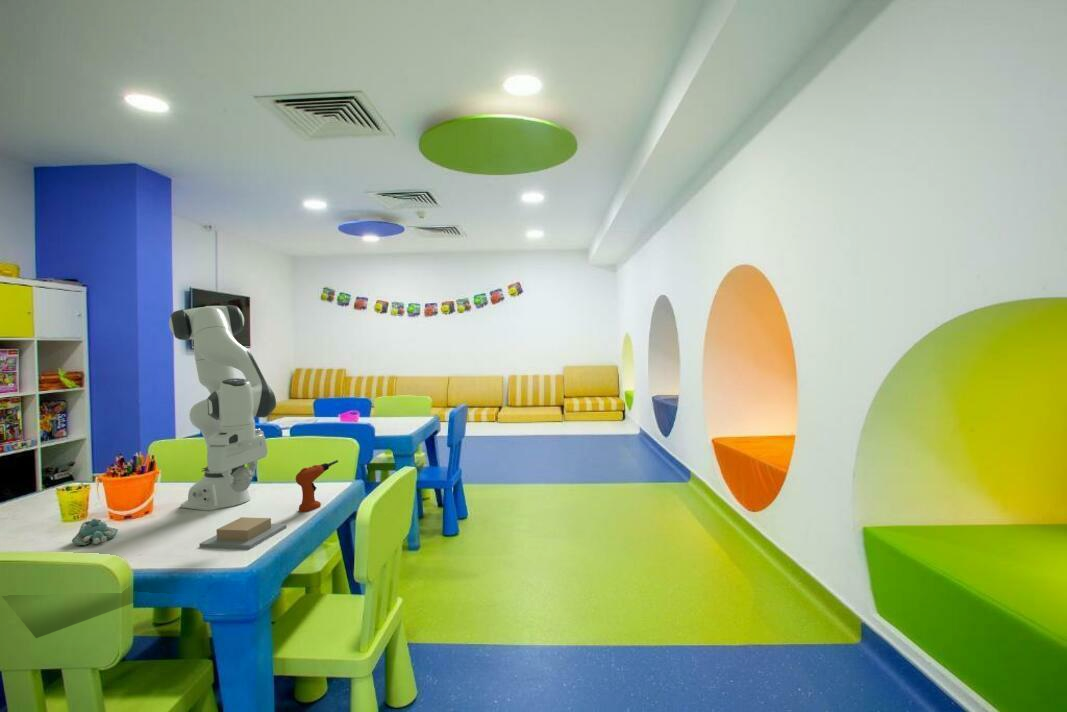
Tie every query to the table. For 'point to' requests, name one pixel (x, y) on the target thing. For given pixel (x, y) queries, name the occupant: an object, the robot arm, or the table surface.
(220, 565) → the table surface
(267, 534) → the baseplate
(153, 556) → the table surface
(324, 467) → the toy drill
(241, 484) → the grey lumpy sculpture
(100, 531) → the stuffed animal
